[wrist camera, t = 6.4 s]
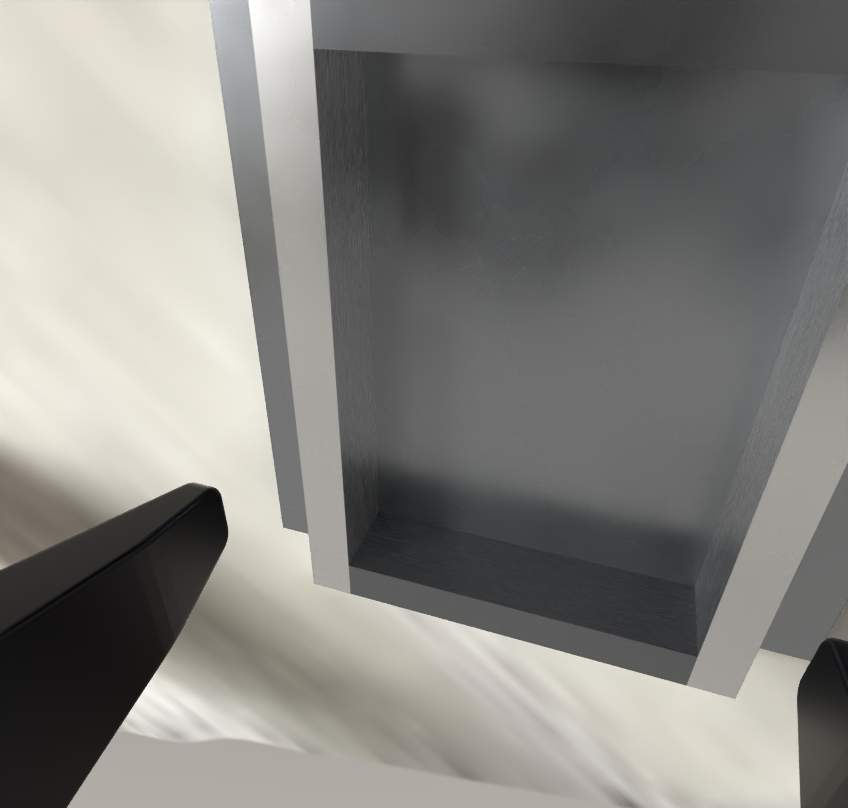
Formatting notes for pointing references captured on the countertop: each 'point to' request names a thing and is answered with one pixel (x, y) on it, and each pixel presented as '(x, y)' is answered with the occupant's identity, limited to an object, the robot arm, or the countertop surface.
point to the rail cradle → (557, 312)
